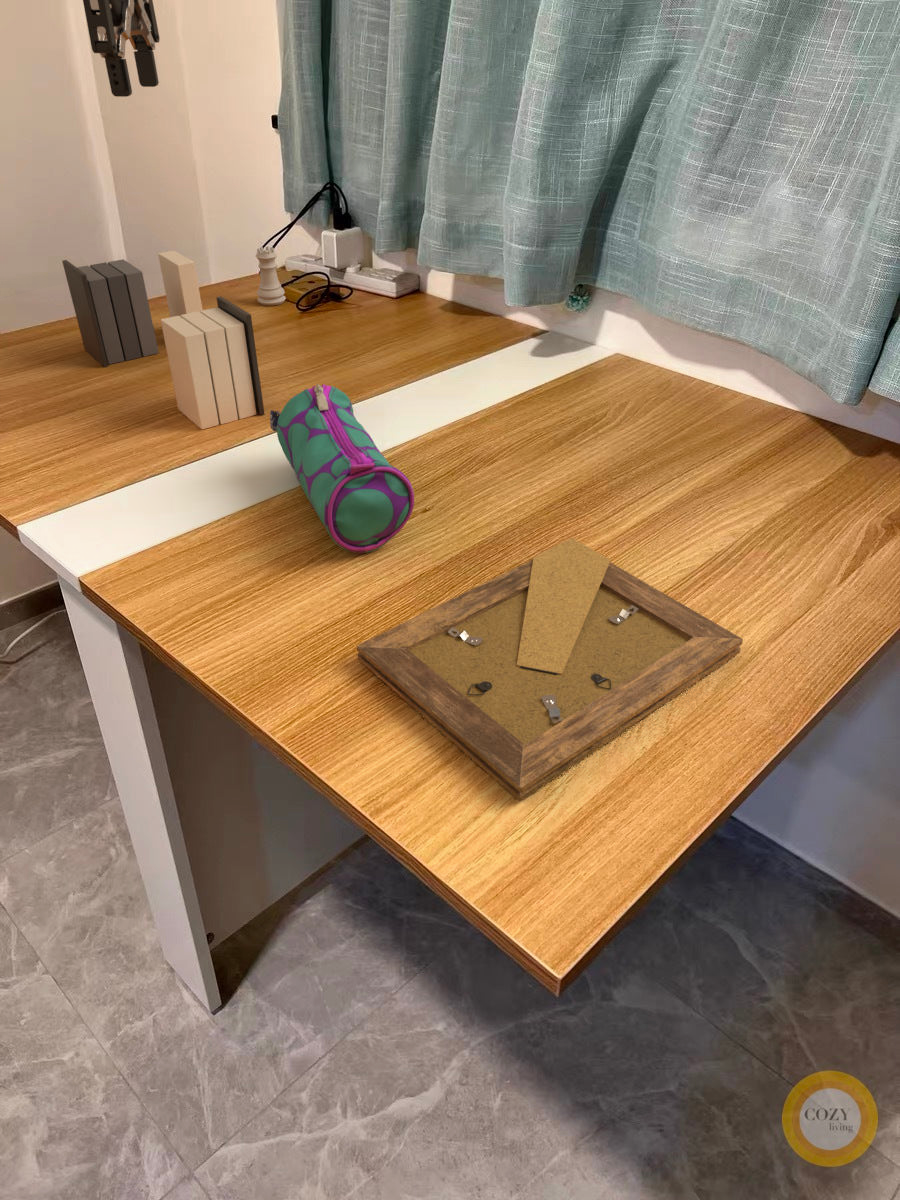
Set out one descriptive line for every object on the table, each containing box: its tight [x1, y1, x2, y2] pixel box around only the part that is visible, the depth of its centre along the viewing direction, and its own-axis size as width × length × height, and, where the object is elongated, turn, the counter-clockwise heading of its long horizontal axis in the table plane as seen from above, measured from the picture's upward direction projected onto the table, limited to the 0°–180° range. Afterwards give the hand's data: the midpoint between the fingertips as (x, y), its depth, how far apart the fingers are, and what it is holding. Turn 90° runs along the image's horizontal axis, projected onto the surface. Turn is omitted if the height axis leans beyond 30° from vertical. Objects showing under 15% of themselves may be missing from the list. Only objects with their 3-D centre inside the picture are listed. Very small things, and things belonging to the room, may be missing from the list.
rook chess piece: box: [255, 246, 287, 307], centre depth 137 cm, size 4×4×8 cm
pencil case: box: [269, 384, 415, 554], centre depth 86 cm, size 21×9×10 cm, turn 22°
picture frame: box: [356, 537, 744, 802], centre depth 69 cm, size 19×2×24 cm
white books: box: [160, 296, 265, 431], centre depth 103 cm, size 8×8×12 cm
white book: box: [157, 250, 203, 317], centre depth 124 cm, size 2×7×11 cm, turn 36°
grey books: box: [61, 258, 160, 368], centre depth 119 cm, size 8×8×12 cm
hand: (136, 91), depth 107 cm, fingers open, 8 cm apart
